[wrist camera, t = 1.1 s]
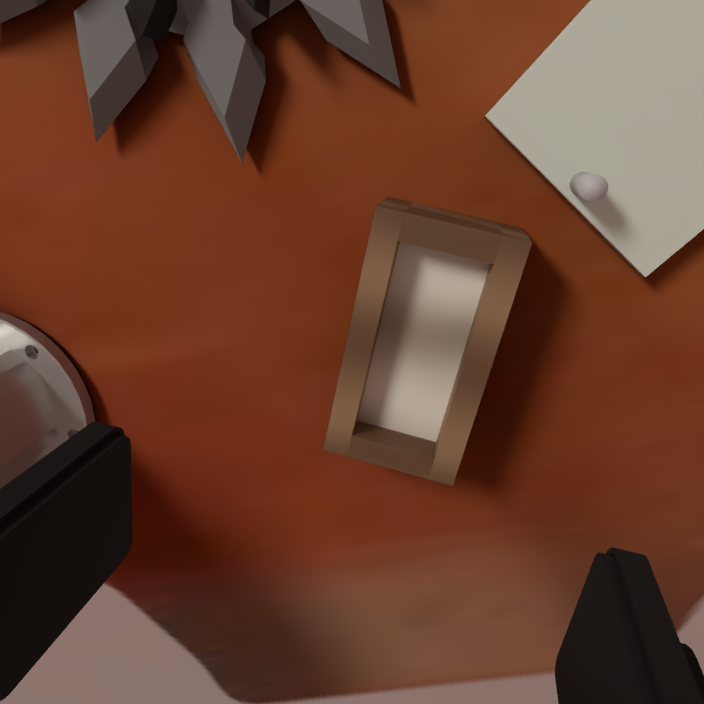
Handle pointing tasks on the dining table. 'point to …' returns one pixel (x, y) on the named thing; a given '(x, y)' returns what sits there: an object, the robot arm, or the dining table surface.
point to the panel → (620, 122)
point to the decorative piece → (206, 49)
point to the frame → (423, 337)
